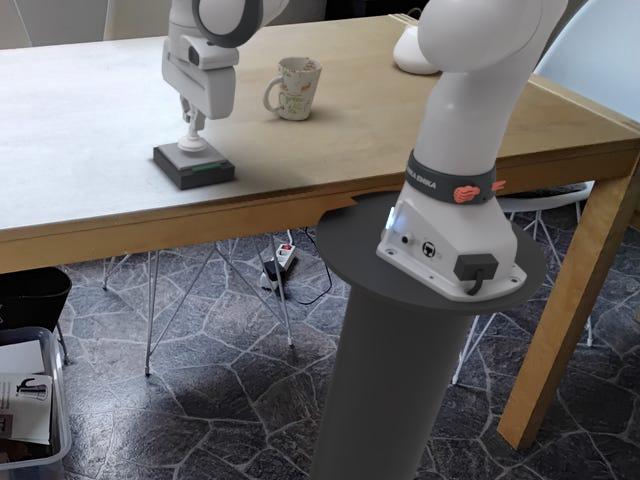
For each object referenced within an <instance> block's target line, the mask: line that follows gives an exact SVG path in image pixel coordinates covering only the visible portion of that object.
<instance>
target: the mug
mask: <svg viewBox="0 0 640 480" xmlns="http://www.w3.org/2000/svg"><path fill="white" fill-rule="evenodd" d="M322 70H323V63H322V62H321V61H319V60H318V59H315V58H312V57H308V56H287V57H284V58H281V59H279V61H278V64H277V72H278V73H277V76H276V77H273V78H271V80H269V82H268V83H267V85H266V87H265V88H264V91H263V93H262V105H263V107H264V109H265V110H267V111H268V112H271V113H275V112H278V116H279V117H281V119H282V118H283V119H285V120H287V121H288V120H289V121H303V120H306V119H308V118H309V116H310V112H311V110H312V106H313V102H314V99H315V96H316V91H317V88H318V85H319V80H320V77H321V74H322ZM275 85H277V86H278V87H277V90H278V91H277V93H278V95H277V97H278V98H277V99H278V100H277V101H278V102H277V104H278V105H275V106H271V104H270V101H269V96H270V92H271V90H272V89H273V87H274V86H275Z"/></svg>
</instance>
